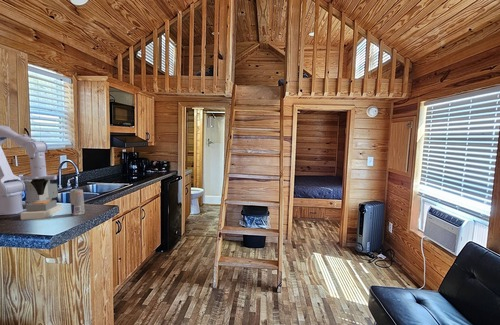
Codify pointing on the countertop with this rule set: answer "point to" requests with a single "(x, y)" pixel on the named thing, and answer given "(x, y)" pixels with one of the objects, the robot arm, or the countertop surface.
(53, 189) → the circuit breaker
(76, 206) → the energy drink
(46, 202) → the button
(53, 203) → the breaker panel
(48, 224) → the countertop surface
